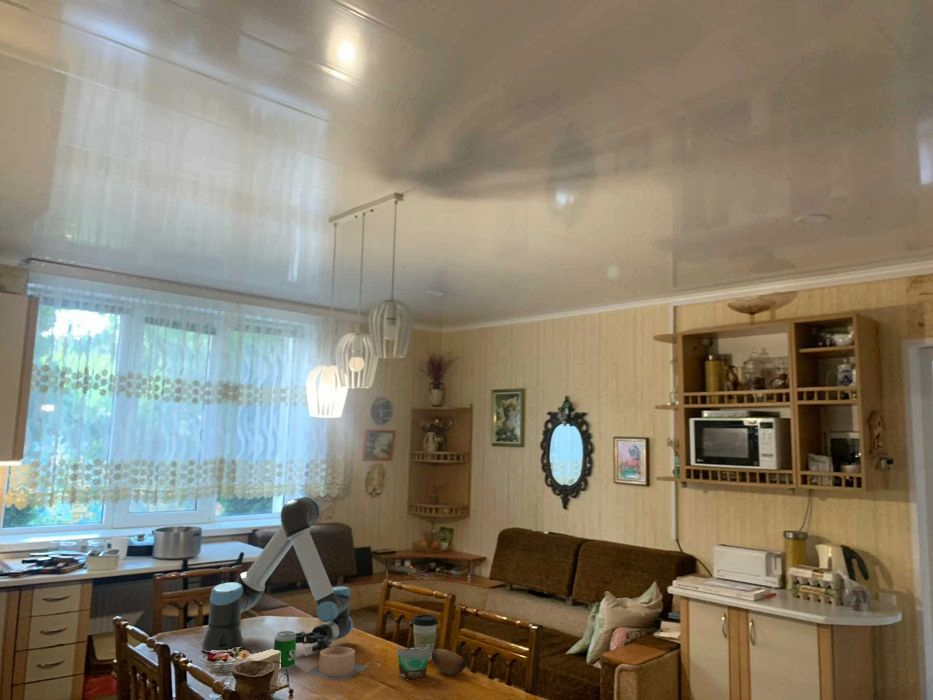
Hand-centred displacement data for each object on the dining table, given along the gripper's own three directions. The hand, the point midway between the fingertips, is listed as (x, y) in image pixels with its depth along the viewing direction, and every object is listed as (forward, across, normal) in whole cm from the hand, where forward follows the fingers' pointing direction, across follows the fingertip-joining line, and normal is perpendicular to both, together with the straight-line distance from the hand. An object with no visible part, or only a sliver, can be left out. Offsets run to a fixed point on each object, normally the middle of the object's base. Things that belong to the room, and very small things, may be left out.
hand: (289, 648), depth 233 cm
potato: (-20, -54, -7) cm, 58 cm away
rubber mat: (-3, -18, -6) cm, 20 cm away
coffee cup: (-31, -39, -7) cm, 50 cm away
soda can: (+2, +1, -7) cm, 7 cm away
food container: (-11, -45, -7) cm, 47 cm away
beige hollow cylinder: (-3, -18, -5) cm, 19 cm away
